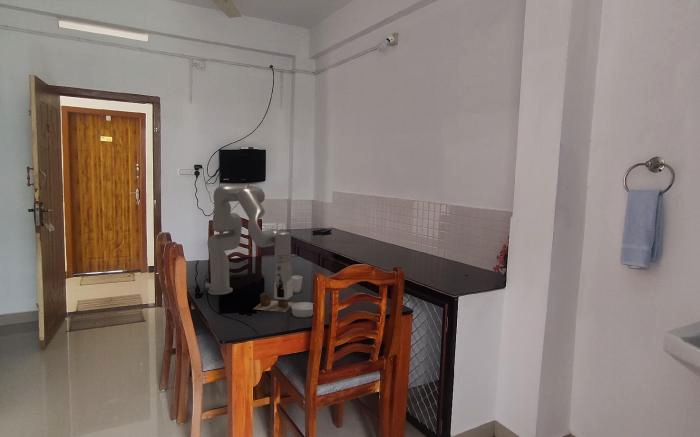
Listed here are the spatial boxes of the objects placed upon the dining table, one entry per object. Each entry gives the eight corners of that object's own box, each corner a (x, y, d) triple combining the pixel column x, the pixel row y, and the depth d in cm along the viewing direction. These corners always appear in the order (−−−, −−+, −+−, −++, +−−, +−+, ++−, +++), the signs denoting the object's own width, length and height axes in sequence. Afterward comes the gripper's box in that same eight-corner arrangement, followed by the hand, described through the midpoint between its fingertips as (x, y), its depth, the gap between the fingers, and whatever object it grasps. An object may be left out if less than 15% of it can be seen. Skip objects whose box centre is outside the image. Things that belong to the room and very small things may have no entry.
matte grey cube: (274, 298, 201) (273, 282, 200) (279, 294, 208) (279, 278, 207) (287, 299, 200) (287, 283, 199) (292, 295, 206) (292, 279, 205)
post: (278, 307, 203) (278, 296, 202) (281, 305, 207) (281, 293, 206) (285, 307, 202) (285, 296, 202) (288, 305, 206) (288, 294, 205)
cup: (302, 293, 231) (302, 278, 230) (283, 293, 230) (283, 279, 229) (302, 289, 238) (302, 275, 237) (284, 290, 237) (284, 275, 236)
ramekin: (316, 321, 190) (316, 309, 189) (290, 321, 189) (290, 310, 189) (316, 312, 201) (315, 301, 201) (291, 313, 200) (291, 302, 200)
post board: (252, 312, 201) (252, 297, 200) (264, 303, 214) (264, 289, 213) (285, 315, 197) (284, 300, 196) (295, 305, 211) (295, 291, 210)
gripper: (283, 262, 192) (284, 301, 194) (296, 254, 209) (297, 290, 211) (267, 261, 194) (268, 299, 196) (282, 253, 211) (282, 289, 213)
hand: (283, 294), depth 204 cm, fingers closed on matte grey cube, 6 cm apart
